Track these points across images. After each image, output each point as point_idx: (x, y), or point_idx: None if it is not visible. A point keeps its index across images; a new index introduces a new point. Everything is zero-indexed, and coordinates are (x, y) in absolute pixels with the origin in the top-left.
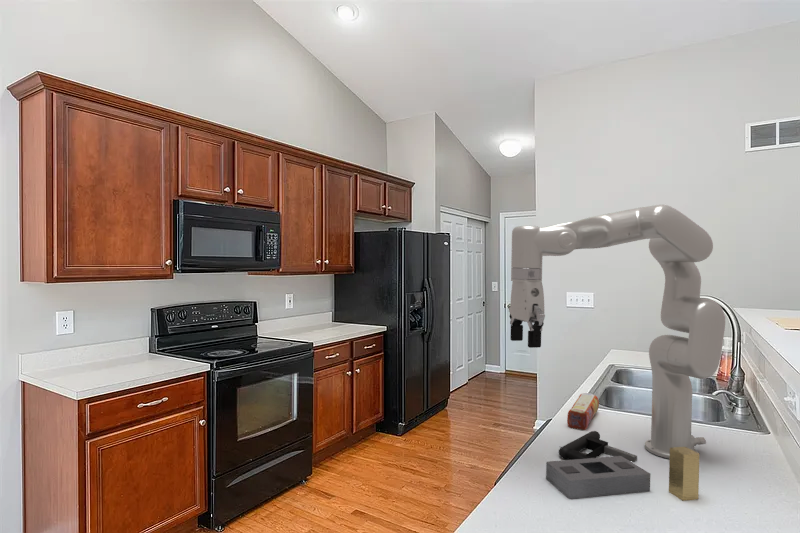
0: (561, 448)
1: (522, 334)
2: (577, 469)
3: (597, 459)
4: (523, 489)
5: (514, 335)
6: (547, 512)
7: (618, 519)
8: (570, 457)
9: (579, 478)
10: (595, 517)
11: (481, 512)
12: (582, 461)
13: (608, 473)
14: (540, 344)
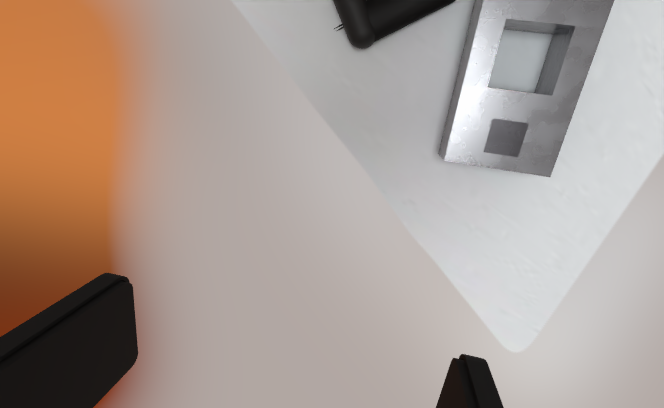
0: (359, 40)
1: (86, 314)
2: (513, 117)
3: (491, 16)
4: (457, 224)
5: (101, 376)
6: (549, 238)
7: (647, 131)
8: (388, 34)
9: (553, 148)
10: (613, 169)
11: (493, 328)
12: (482, 69)
13: (571, 54)
14: (487, 377)
